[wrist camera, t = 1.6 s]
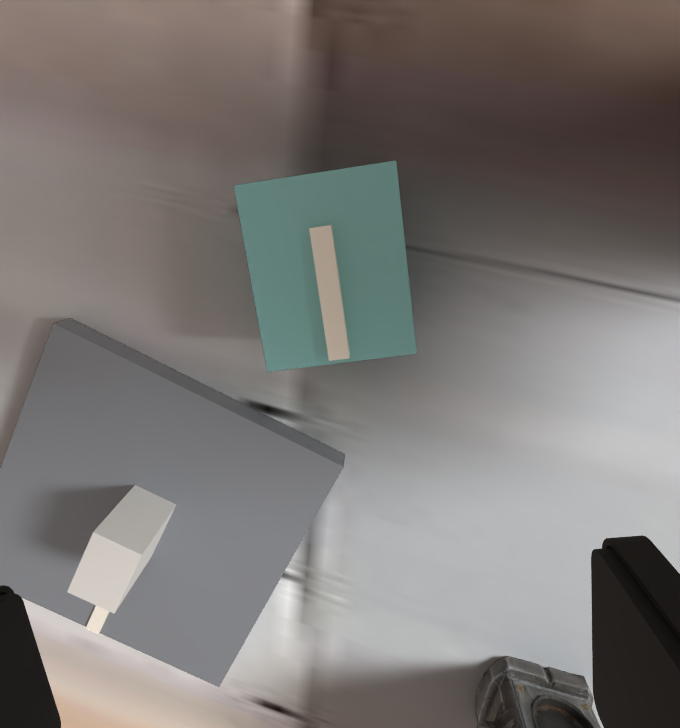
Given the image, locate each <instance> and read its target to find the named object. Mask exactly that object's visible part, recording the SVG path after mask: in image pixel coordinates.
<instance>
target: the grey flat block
mask: <svg viewBox="0 0 680 728" xmlns="http://www.w3.org/2000/svg"><path fill="white" fill-rule="evenodd" d="M344 458H345V454H343V453H341V452H339V451H337V450H335V449H333V448H331V447H329V446H327V445H325V444H323V443H321V442H319V441H317V440H315V439H313V438H311V437H309V436H307V435H305V434H303V433H301V432H299V431H297V430H295V429H293V428H291V427H288V426H286V425H284V424H282V423H280V422H278V421H276V420H274V419H272V418H270V417H268V416H266V415H264V414H262V413H260V412H258V411H256V410H254V409H252V408H250V407H248V406H246V405H244V404H242V403H240V402H238V401H236V400H234V399H232V398H230V397H228V396H226V395H224V394H222V393H220V392H218V391H216V390H214V389H212V388H210V387H208V386H206V385H204V384H202V383H200V382H198V381H196V380H194V379H192V378H190V377H188V376H186V375H184V374H182V373H180V372H178V371H176V370H174V369H171V368H169V367H167V366H165V365H163V364H161V363H159V362H157V361H155V360H153V359H151V358H149V357H147V356H145V355H143V354H141V353H139V352H137V351H135V350H133V349H131V348H129V347H127V346H125V345H123V344H121V343H119V342H117V341H115V340H113V339H111V338H109V337H107V336H105V335H103V334H101V333H99V332H97V331H95V330H93V329H91V328H89V327H87V326H85V325H83V324H81V323H79V322H77V321H75V320H73V319H71V318H68V319H65V320H62V321H59V322H56V323H53V326H52V329H51V331H50V334H49V337H48V340H47V342H46V345H45V348H44V351H43V353H42V356H41V359H40V361H39V364H38V367H37V370H36V372H35V375H34V378H33V381H32V383H31V386H30V389H29V391H28V394H27V397H26V400H25V402H24V405H23V408H22V411H21V413H20V416H19V419H18V421H17V424H16V427H15V430H14V432H13V435H12V438H11V441H10V443H9V446H8V449H7V451H6V454H5V457H4V460H3V462H2V465H1V468H0V586H1V585H5V586H9V587H10V588H11V589H12V590H13V591H14V593H15V594H18V595H19V596H20V597H22V598H24V599H26V600H29V601H31V602H33V603H35V604H37V605H40V606H42V607H44V608H46V609H48V610H51V611H53V612H55V613H57V614H59V615H62V616H64V617H66V618H68V619H70V620H73V621H75V622H77V623H79V624H81V625H84V626H86V629H87V630H89V631H91V632H93V633H96V634H99V633H101V634H103V635H106V636H108V637H110V638H112V639H114V640H117V641H119V642H121V643H123V644H125V645H128V646H130V647H132V648H134V649H136V650H139V651H141V652H143V653H145V654H147V655H150V656H152V657H154V658H156V659H158V660H161V661H163V662H165V663H167V664H169V665H172V666H174V667H176V668H178V669H180V670H182V671H185V672H187V673H189V674H191V675H193V676H196V677H198V678H200V679H202V680H204V681H207V682H209V683H211V684H213V685H215V686H218V687H219V686H220V684H221V683H222V681H223V679H224V677H225V675H226V674H227V672H228V670H229V668H230V667H231V665H232V663H233V661H234V660H235V658H236V656H237V654H238V652H239V651H240V649H241V647H242V645H243V644H244V642H245V640H246V638H247V637H248V635H249V633H250V631H251V629H252V628H253V626H254V624H255V622H256V621H257V619H258V617H259V615H260V614H261V612H262V610H263V608H264V606H265V605H266V603H267V601H268V599H269V598H270V596H271V594H272V592H273V591H274V589H275V587H276V585H277V583H278V582H279V580H280V578H281V576H282V575H283V573H284V571H285V569H286V568H287V566H288V564H289V562H290V560H291V559H292V557H293V555H294V553H295V552H296V550H297V548H298V546H299V544H300V543H301V541H302V539H303V537H304V536H305V534H306V532H307V530H308V529H309V527H310V525H311V523H312V521H313V520H314V518H315V516H316V514H317V513H318V511H319V509H320V507H321V506H322V504H323V502H324V500H325V498H326V497H327V495H328V493H329V491H330V490H331V488H332V486H333V484H334V483H335V481H336V479H337V477H338V475H339V474H340V472H341V470H342V468H343V466H344Z"/></svg>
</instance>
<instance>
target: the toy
mask: <svg viewBox="0 0 680 728" xmlns="http://www.w3.org/2000/svg"><path fill="white" fill-rule="evenodd" d="M592 703H593V697H592V694H591V692H590V689H589V687H588V685H587V683H586V680H585V678H584V676H579V675H574V674H570V673H567V672H563V671H559V670H556V669H553V668H547V669H544V668H543V667H542V666H540V665H537V664H534V663H531V662H527V661H523V660H520V659H516V658H513V657H505V658H503V659H500V660H498V661H495V663H494V664H493V665H492V666H491V667H490V668H489V669H488V670H487V672H486V673H485V674H484V676H483V678H482V680H481V682H480V684H479V686H478V691H477V696H476V717H477V722H478V726H477V728H601V727H600V725H599V723H598V721H597V719H596V717H595V714H594V712H593V710H592Z"/></svg>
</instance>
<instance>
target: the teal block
mask: <svg viewBox="0 0 680 728" xmlns="http://www.w3.org/2000/svg"><path fill="white" fill-rule="evenodd" d="M234 190H235V196H236V202H237V207H238V213H239V218H240V224H241V229H242V235H243V240H244V246H245V252H246V257H247V263H248V268H249V274H250V279H251V285H252V291H253V296H254V302H255V307H256V313H257V318H258V324H259V330H260V335H261V341H262V346H263V352H264V357H265V363H266V368H267V372H272V371H280V370H288V369H296V368H305V367H313V366H321V365H329V364H338V363H346V362H354V361H363V360H371V359H379V358H387V357H396V356H404V355H412V354H417V349H416V340H415V331H414V321H413V312H412V303H411V294H410V284H409V275H408V266H407V256H406V247H405V238H404V228H403V219H402V210H401V201H400V191H399V182H398V173H397V163H396V161H389V162H383V163H376V164H370V165H363V166H357V167H350V168H343V169H337V170H330V171H324V172H317V173H311V174H304V175H298V176H291V177H285V178H278V179H272V180H265V181H259V182H252V183H246V184H239V185H234Z"/></svg>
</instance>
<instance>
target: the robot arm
mask: <svg viewBox="0 0 680 728" xmlns="http://www.w3.org/2000/svg"><path fill="white" fill-rule="evenodd" d="M591 571H592V652H593V695H594V701H595V705H596V709H597V712H598V715H599V717H600V720H601V722H602V724H603V726H604V728H680V574H679V573H678V572H677V571H676V569H675V568H674V567H673V566H672V565H671V564H670V562H669V561H668V560H667V559H666V558H665V557H664V556H663V554H662V553H661V552H660V551H659V550H658V549H657V547H656V546H655V545H654V544H653V543H652V542H651V540H649V539H648V538H647V537H646V536H632V537H619V538H606V539H605V540H604V542H603V544H602V549H594V550H593V551H592V557H591ZM0 728H61V721H60V716H59V713H58V710H57V707H56V704H55V700H54V697H53V694H52V691H51V688H50V685H49V682H48V678H47V675H46V672H45V669H44V666H43V663H42V659H41V656H40V653H39V650H38V647H37V644H36V640H35V637H34V634H33V631H32V628H31V625H30V621H29V618H28V615H27V612H26V609H25V606H24V602H23V600H22V598H21V597H20V596H19V595H18V594H15V593H14V591H13V590H12V589H11V588H10V587H9V586H5V585H1V586H0Z"/></svg>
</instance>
